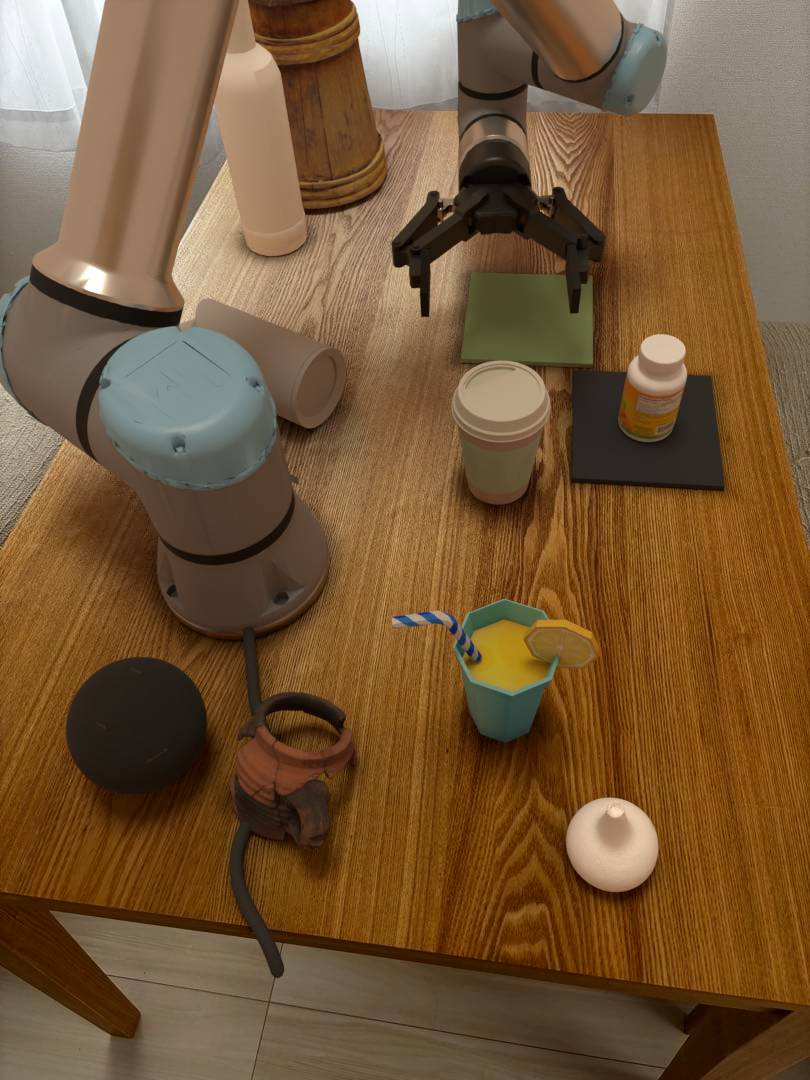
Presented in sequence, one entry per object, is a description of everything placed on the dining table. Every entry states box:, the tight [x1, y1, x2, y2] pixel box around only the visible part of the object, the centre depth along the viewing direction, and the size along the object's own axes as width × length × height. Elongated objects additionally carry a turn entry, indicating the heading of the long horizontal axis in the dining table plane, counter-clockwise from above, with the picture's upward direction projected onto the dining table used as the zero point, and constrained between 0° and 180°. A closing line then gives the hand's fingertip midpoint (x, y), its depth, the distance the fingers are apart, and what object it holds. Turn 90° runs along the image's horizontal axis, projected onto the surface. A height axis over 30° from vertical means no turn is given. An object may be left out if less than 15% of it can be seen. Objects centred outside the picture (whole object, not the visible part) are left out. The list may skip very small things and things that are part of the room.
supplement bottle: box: [618, 333, 688, 442], centre depth 82 cm, size 5×5×10 cm
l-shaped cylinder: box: [179, 298, 347, 429], centre depth 88 cm, size 18×11×20 cm
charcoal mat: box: [571, 369, 726, 491], centre depth 86 cm, size 15×14×1 cm
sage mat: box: [460, 271, 594, 369], centre depth 97 cm, size 15×14×1 cm
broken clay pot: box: [229, 691, 358, 852], centre depth 64 cm, size 12×10×8 cm
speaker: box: [65, 656, 208, 795], centre depth 64 cm, size 10×10×10 cm
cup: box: [391, 598, 601, 744], centre depth 63 cm, size 14×8×15 cm, turn 90°
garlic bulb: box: [565, 797, 659, 893], centre depth 59 cm, size 6×6×8 cm
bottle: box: [213, 0, 308, 257], centre depth 97 cm, size 8×8×30 cm
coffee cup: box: [450, 360, 552, 506], centre depth 78 cm, size 8×8×12 cm
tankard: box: [248, 0, 388, 210], centre depth 109 cm, size 18×24×25 cm
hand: (499, 303), depth 78 cm, fingers open, 13 cm apart
